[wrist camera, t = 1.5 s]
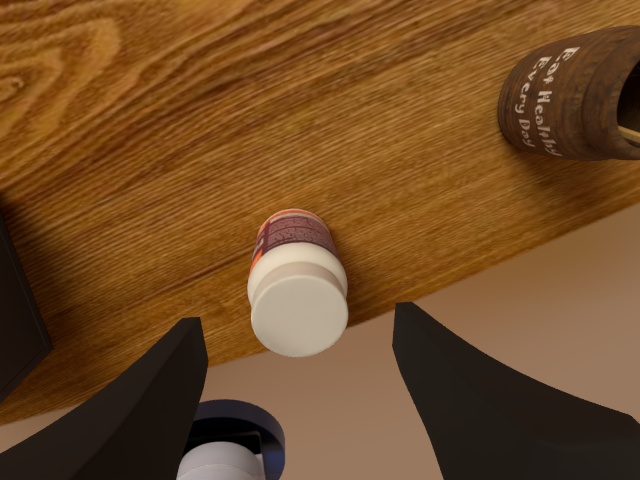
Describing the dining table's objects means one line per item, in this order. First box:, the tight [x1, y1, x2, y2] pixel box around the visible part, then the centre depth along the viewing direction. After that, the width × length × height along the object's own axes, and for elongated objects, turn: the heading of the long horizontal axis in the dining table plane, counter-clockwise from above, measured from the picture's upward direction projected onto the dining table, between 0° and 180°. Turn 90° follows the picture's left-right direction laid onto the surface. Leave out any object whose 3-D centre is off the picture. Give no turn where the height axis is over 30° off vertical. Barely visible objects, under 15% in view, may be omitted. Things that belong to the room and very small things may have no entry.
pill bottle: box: [247, 209, 348, 357], centre depth 17 cm, size 5×5×8 cm
